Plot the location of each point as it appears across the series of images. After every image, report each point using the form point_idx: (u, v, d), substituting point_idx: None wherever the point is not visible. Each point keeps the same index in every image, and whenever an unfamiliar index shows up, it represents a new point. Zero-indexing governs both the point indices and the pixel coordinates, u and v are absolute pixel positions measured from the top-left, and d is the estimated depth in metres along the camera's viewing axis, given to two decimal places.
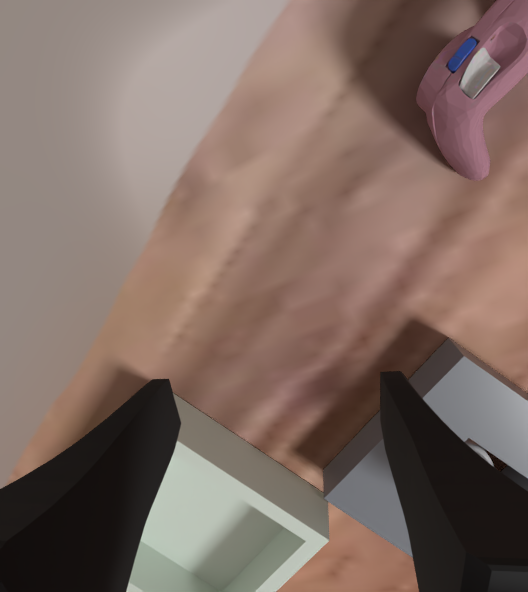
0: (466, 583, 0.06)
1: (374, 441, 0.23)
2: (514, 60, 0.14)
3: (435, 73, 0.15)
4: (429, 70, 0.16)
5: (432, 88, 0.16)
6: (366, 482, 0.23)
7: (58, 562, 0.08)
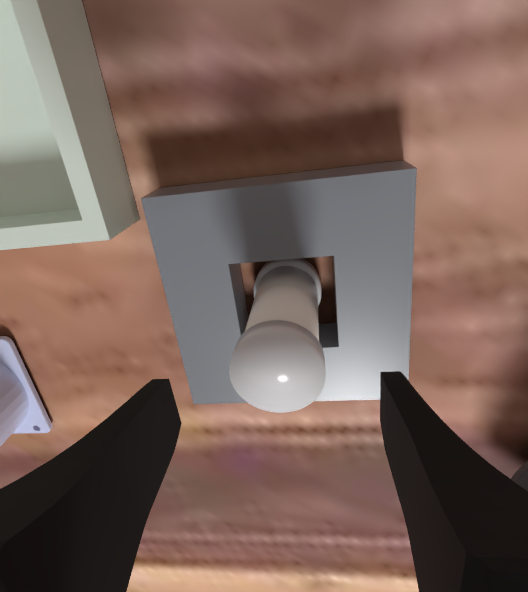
0: (466, 583, 0.06)
1: (247, 184, 0.18)
2: None
3: None
4: None
5: None
6: (200, 218, 0.18)
7: (58, 562, 0.08)
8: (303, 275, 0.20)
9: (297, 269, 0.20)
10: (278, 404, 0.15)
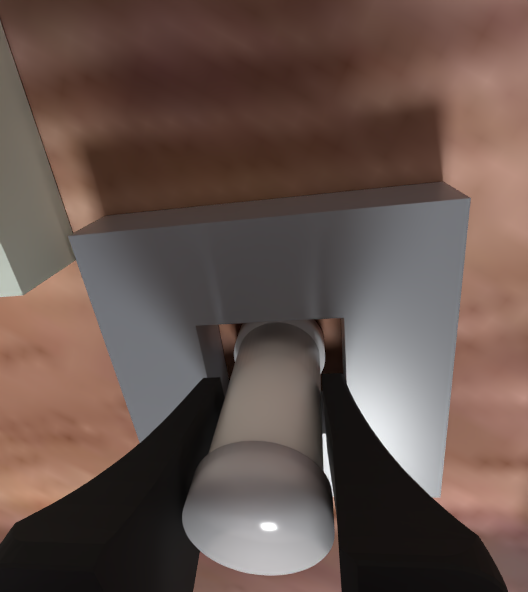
0: (343, 578, 0.06)
1: (219, 218, 0.12)
2: None
3: None
4: None
5: None
6: (154, 264, 0.13)
7: (142, 566, 0.08)
8: (301, 338, 0.14)
9: (292, 329, 0.15)
10: (260, 565, 0.10)
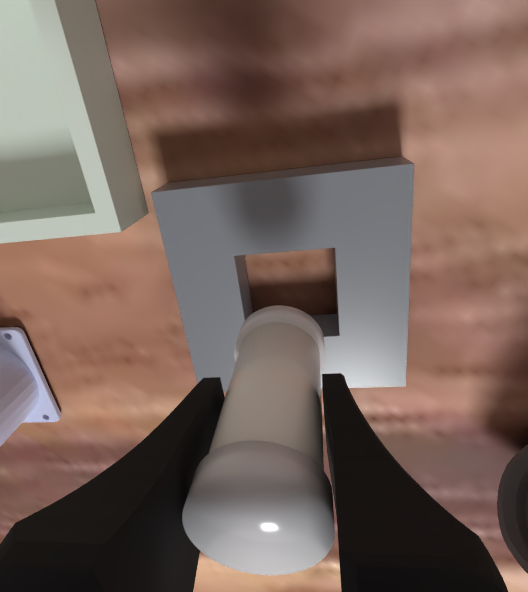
0: (344, 578, 0.06)
1: (252, 179, 0.18)
2: None
3: None
4: None
5: None
6: (208, 211, 0.19)
7: (142, 566, 0.08)
8: (301, 338, 0.14)
9: (292, 328, 0.15)
10: (260, 565, 0.10)
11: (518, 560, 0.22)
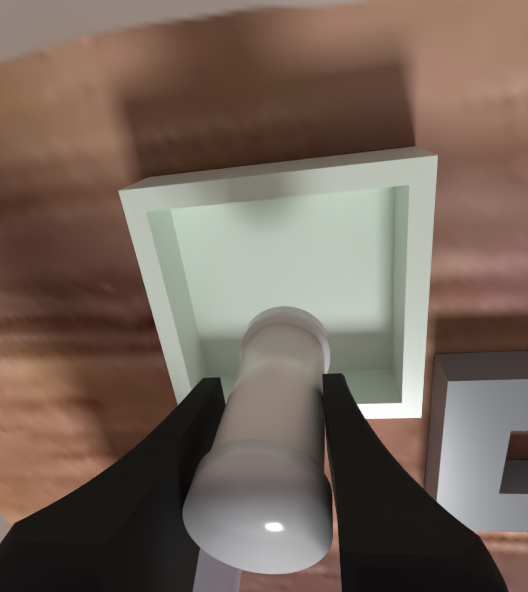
0: (345, 578, 0.06)
1: None
2: None
3: None
4: None
5: None
6: (498, 397, 0.21)
7: (142, 566, 0.08)
8: (303, 338, 0.14)
9: (295, 328, 0.15)
10: (263, 564, 0.10)
11: None
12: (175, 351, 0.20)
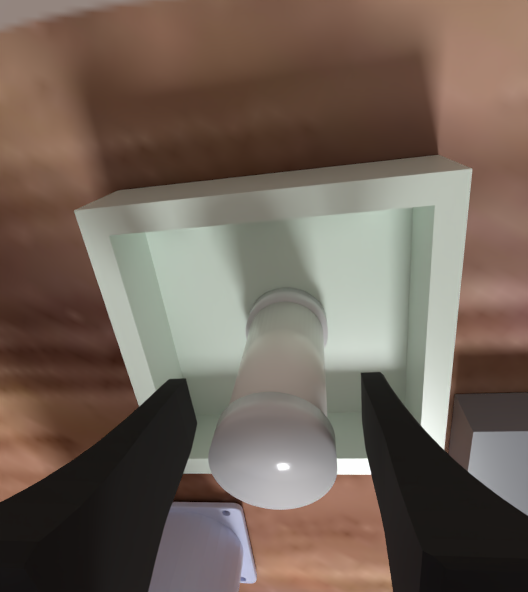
0: (425, 581, 0.06)
1: None
2: None
3: None
4: None
5: None
6: None
7: (86, 563, 0.08)
8: (304, 314, 0.16)
9: (296, 306, 0.16)
10: (277, 500, 0.12)
11: None
12: None
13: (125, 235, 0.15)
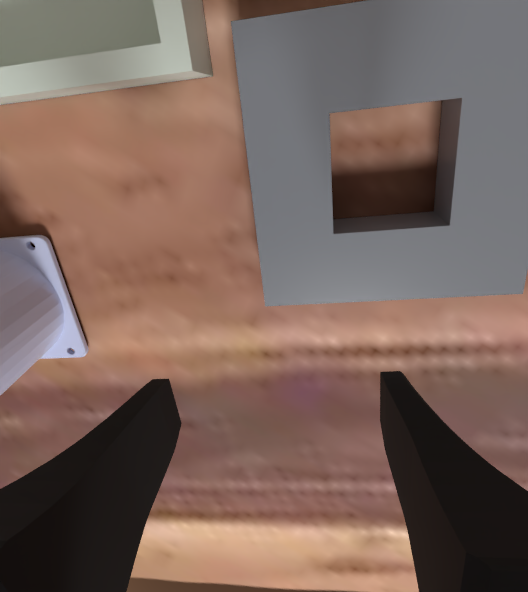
0: (466, 583, 0.06)
1: (362, 3, 0.14)
2: None
3: None
4: None
5: None
6: (302, 48, 0.15)
7: (58, 562, 0.08)
8: None
9: None
10: None
11: None
12: None
13: None
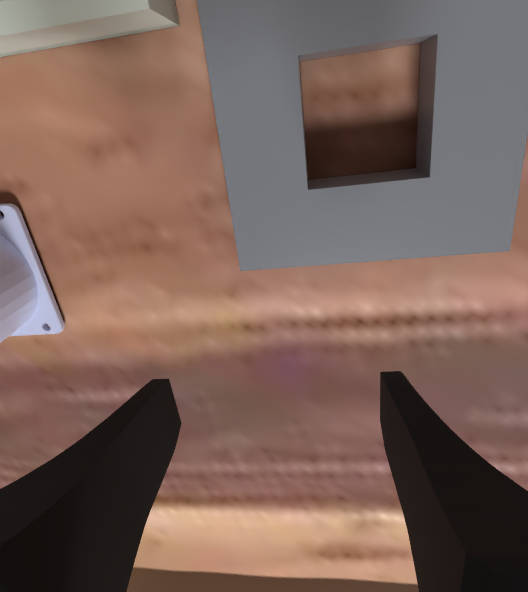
0: (467, 583, 0.06)
1: None
2: None
3: None
4: None
5: None
6: None
7: (58, 562, 0.08)
8: None
9: None
10: None
11: None
12: None
13: None
